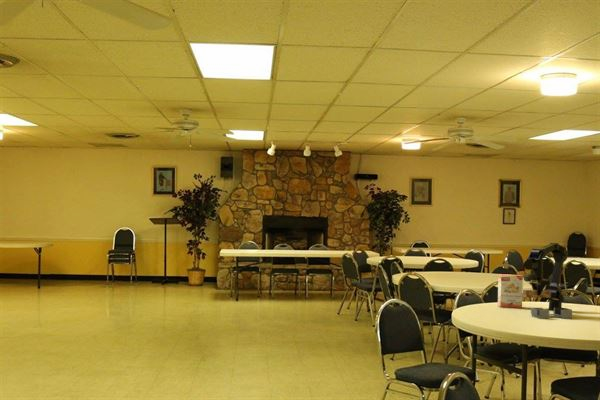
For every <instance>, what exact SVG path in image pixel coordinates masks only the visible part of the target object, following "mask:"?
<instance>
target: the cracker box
mask: <svg viewBox="0 0 600 400" xmlns="http://www.w3.org/2000/svg"><path fill="white" fill-rule="evenodd" d="M523 276H524V275H520V274H507V273H506V274H504V273H503V274H502V273H500V274H498V283H497V286H498V287H497V307H499V308H511V309H512V308H513V309H522V308H523V290H524V289H523V285H524V284H523V283H524V282H523V281H524V278H523Z"/></svg>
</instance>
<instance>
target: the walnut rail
mask: <svg viewBox="0 0 600 400" xmlns="http://www.w3.org/2000/svg"><path fill="white" fill-rule="evenodd" d="M523 297H524V298H537V299H538V298H546V299H547V298H551V291H549V290H547V289H543V291H542V292H541V294H540V296H538V292H537V290H533V289H523V290H522V298H523Z"/></svg>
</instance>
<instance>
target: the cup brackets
mask: <svg viewBox="0 0 600 400" xmlns="http://www.w3.org/2000/svg"><path fill="white" fill-rule="evenodd" d="M530 314H531V317H533V318H536V319H538V320H539V319H540V318H541V319H542V318H543V320H548V319H563V320H567V319H568V320H569V319H572V316H573V309H571V308H567V307H562V308H554V311H553V315H550V310H549V309H543V307H531V308H530ZM544 318H545V319H544ZM541 319H540V320H541Z"/></svg>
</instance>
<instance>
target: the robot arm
mask: <svg viewBox="0 0 600 400" xmlns="http://www.w3.org/2000/svg"><path fill="white" fill-rule="evenodd" d="M530 250H531V251H530V252H529V254H528V256H527V258H526V260H525V261H524V263H523V268H524V269H525V270H527V271H529V270H530V272H529V273H527V274H524V275H522V276H523V281H524V282H527V283H528V284H529V285H530V286H531V288H532V290H537V292H538V296H540V294H541V292H542V291H543V290H545V289H544V288H545V287H546V290H549V291H551V298H546V300H547V301H549V302H548V310H549V311H552V312H554V308H563V307H562V303H563V302H565V297H564V295H563V292H562V287H561V279H562V273H563V268H564V267H563V266H564V263H565V262H566V261H567V260H568V256H569V251H568V250H567V248H566V247H564V246H562V245H560V244H559V243H558V242H550V243H549V244H546V245H544V246H541V247H535V248H534V247H533V248H532V249H530ZM549 253H551V254H552V258H553V260H554V264H553V271H552V276H551V280H550V279H545V278H544V277H543V274H545V270H544V271H543V263H544V262H545V260H544V258H546V255H547V254H549Z"/></svg>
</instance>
